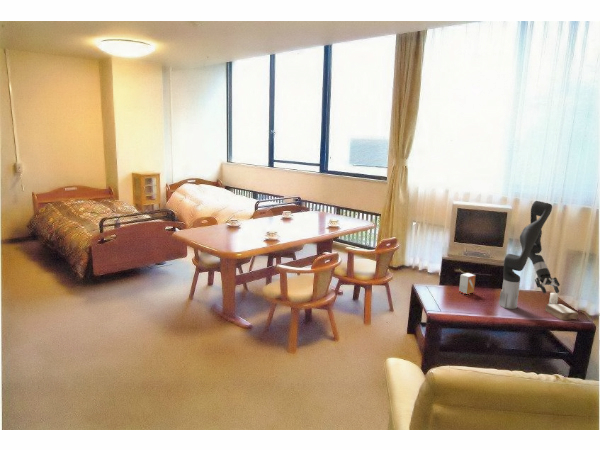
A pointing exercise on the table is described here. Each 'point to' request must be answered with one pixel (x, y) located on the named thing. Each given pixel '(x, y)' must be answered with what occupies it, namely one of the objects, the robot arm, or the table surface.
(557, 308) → the dock
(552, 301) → the canister
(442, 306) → the table surface
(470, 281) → the small box
